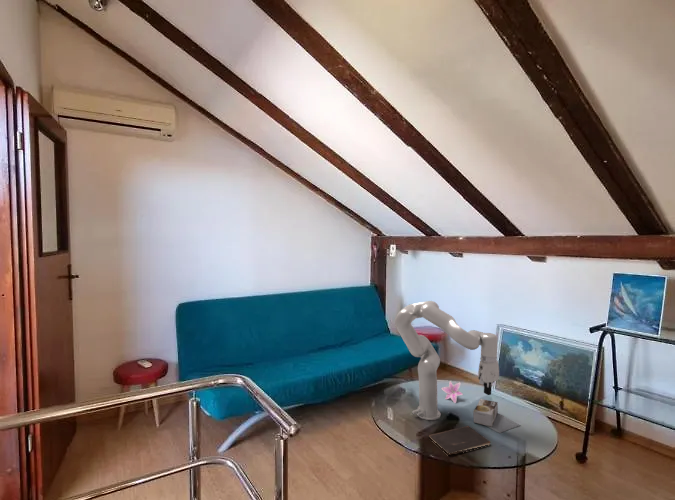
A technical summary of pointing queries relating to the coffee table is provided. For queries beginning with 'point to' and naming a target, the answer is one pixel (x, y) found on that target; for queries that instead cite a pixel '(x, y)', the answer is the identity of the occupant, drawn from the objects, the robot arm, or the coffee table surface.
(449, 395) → the lily
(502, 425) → the slate mat
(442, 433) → the hardcover book
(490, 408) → the coffee box
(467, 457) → the coffee table surface
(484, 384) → the robot arm
